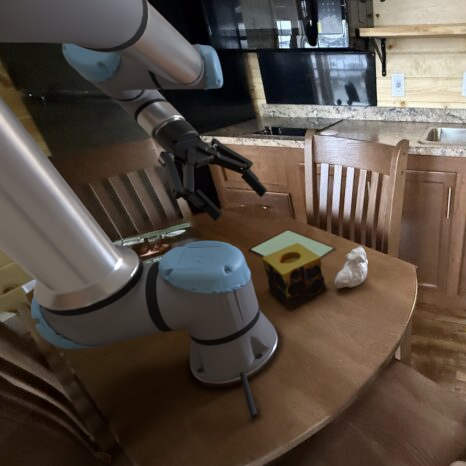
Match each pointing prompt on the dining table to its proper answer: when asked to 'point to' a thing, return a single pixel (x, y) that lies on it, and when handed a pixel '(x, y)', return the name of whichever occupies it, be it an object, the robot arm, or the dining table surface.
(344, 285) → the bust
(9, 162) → the robot arm
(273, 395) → the dining table surface
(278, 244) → the napkin
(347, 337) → the dining table surface
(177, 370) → the dining table surface
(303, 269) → the yellow and black cube
